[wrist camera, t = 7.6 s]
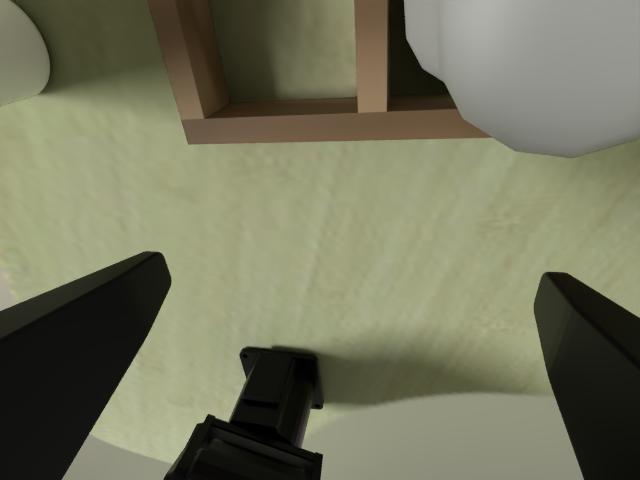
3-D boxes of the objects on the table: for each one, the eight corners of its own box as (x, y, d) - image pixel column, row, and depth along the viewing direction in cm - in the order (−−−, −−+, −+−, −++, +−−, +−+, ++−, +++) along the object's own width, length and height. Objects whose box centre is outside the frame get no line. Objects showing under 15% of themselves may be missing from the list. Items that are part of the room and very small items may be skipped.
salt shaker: (582, -88, 14) (1208, -380, 3) (526, 81, 17) (727, 238, 6) (417, -92, 14) (435, -328, 4) (394, 70, 18) (368, 191, 7)
